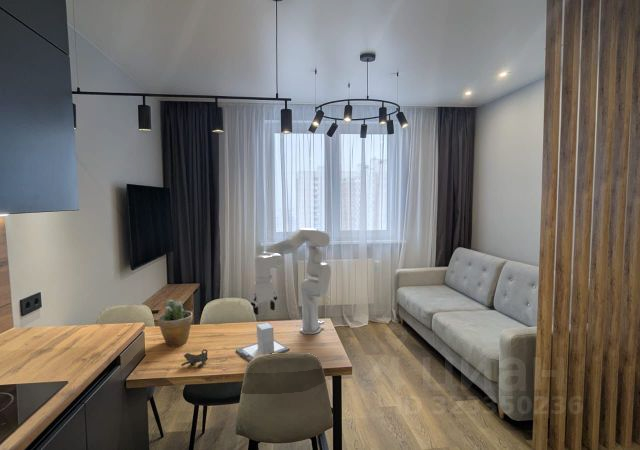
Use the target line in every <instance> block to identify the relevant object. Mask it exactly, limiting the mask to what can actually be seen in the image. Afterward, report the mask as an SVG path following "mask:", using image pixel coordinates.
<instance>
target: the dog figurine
mask: <svg viewBox="0 0 640 450" xmlns="http://www.w3.org/2000/svg"><path fill="white" fill-rule="evenodd" d="M204 351H205V352H204ZM208 353H209V352H208V350H207V349H202V350H201V353H200V354H192V353H189V352H187V353H185V354H183V357H184V358H185V359H186V361H185V362H183V363H182V364H181V367H184V366H185V365H187V364H190V365H196V364H197V363H199V364H198V365H197V366H196V367H197V368H200V367H202V366H204V365H205V364H206V363H205V362H207V360H208V359H209V357H208V355H209V354H208ZM200 362H201V363H200Z"/></svg>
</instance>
